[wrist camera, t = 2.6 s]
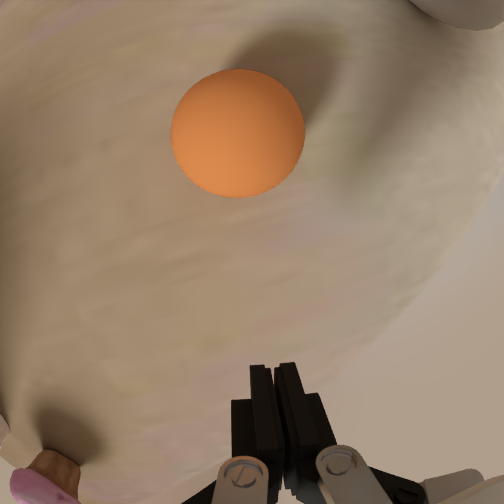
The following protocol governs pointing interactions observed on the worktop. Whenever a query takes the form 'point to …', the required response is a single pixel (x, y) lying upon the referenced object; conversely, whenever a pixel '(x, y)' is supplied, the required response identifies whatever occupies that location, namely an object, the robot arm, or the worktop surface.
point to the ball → (237, 133)
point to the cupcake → (46, 480)
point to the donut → (464, 12)
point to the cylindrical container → (3, 430)
